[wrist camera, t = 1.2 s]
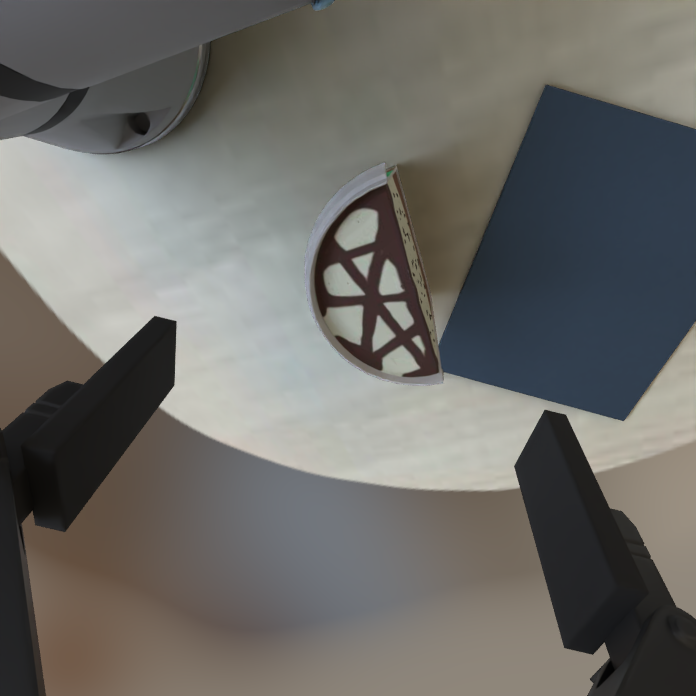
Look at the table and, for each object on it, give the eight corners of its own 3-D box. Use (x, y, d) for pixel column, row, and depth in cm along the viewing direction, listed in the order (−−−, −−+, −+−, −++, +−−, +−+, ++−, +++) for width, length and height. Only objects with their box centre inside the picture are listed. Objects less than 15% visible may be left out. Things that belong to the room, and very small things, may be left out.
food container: (299, 171, 31) (258, 210, 23) (390, 140, 30) (383, 169, 21) (357, 332, 37) (342, 412, 28) (436, 313, 35) (445, 390, 27)
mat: (430, 365, 38) (430, 368, 37) (545, 84, 28) (547, 84, 27) (621, 418, 38) (623, 421, 38) (804, 161, 28) (809, 163, 28)
